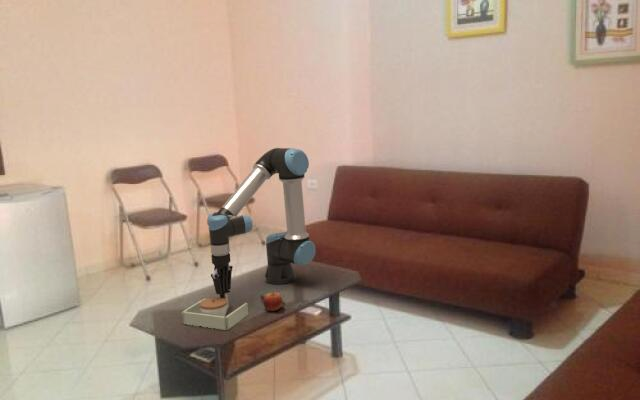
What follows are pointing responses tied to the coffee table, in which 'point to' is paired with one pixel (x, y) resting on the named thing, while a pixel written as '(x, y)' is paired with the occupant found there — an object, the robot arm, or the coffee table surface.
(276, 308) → the apple
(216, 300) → the lidded jar
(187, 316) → the bin
